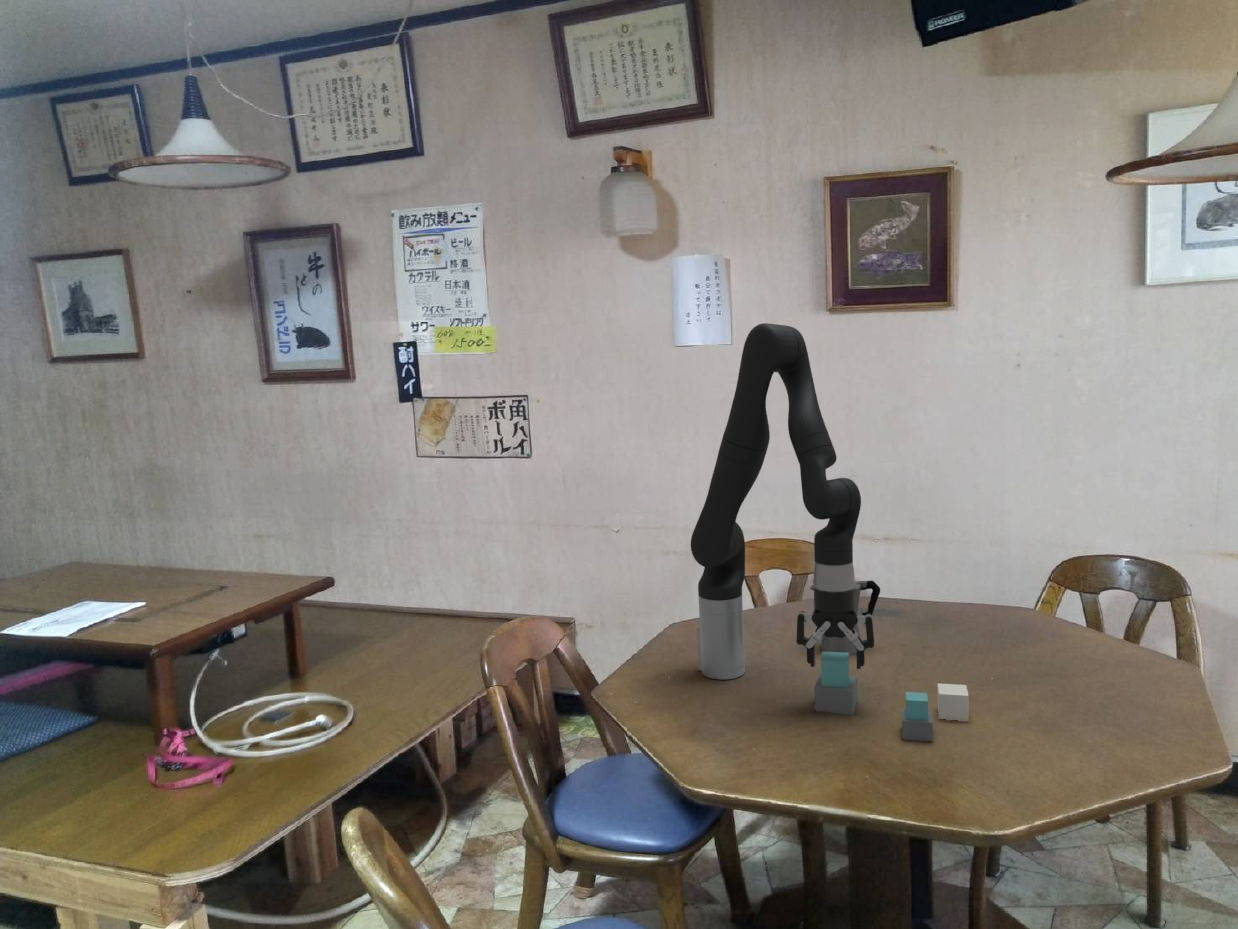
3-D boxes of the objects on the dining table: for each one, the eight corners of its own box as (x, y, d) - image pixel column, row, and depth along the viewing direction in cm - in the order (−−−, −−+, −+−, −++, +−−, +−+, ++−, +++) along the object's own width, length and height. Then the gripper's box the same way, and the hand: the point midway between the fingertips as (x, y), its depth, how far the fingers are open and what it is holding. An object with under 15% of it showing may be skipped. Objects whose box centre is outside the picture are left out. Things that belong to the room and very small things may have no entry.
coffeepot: (815, 657, 195) (813, 578, 192) (808, 642, 204) (806, 567, 202) (886, 655, 194) (885, 575, 191) (875, 640, 203) (874, 564, 201)
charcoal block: (814, 711, 168) (814, 686, 167) (821, 697, 174) (820, 673, 173) (852, 716, 165) (852, 690, 164) (857, 701, 171) (857, 676, 171)
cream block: (939, 720, 161) (939, 694, 161) (937, 708, 166) (937, 683, 165) (968, 722, 160) (968, 695, 159) (966, 710, 165) (966, 685, 164)
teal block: (821, 686, 167) (821, 660, 166) (822, 676, 172) (822, 651, 171) (848, 687, 166) (848, 662, 165) (849, 677, 171) (848, 652, 170)
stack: (902, 739, 154) (902, 701, 153) (901, 727, 159) (901, 690, 158) (932, 741, 153) (932, 703, 152) (931, 729, 158) (931, 691, 157)
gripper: (873, 579, 168) (874, 661, 170) (797, 577, 172) (799, 657, 174) (873, 591, 161) (874, 676, 163) (793, 588, 165) (795, 671, 167)
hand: (835, 666), depth 168 cm, fingers open, 8 cm apart
